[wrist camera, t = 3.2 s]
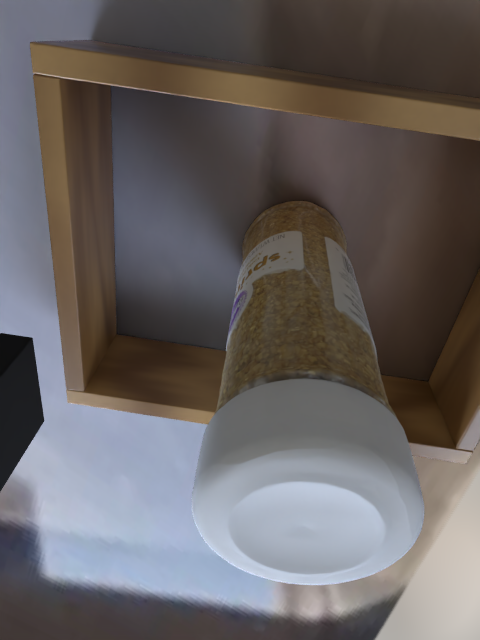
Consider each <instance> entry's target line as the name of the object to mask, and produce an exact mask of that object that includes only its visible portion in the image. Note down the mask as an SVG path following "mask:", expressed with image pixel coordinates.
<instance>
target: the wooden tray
mask: <svg viewBox="0 0 480 640" xmlns="http://www.w3.org/2000/svg"><path fill="white" fill-rule="evenodd" d="M30 50H31V59H32V69H33V73H34V75H33V79H34V89H35V98H36V108H37V117H38V127H39V136H40V145H41V155H42V164H43V174H44V183H45V193H46V202H47V212H48V221H49V231H50V240H51V250H52V259H53V268H54V278H55V287H56V297H57V306H58V316H59V325H60V335H61V344H62V354H63V363H64V373H65V382H66V392H67V401H68V403H72V404H78V405H85V406H91V407H98V408H104V409H111V410H117V411H124V412H130V413H137V414H143V415H150V416H156V417H163V418H169V419H176V420H182V421H189V422H195V423H202V424H209V422H210V420H211V419H212V417H213V416H214V413H215V411H216V409H217V404H218V400H219V395H220V386H221V381H222V374H223V369H224V364H225V359H226V354H227V351H223V350H216V349H210V348H203V347H197V346H190V345H183V344H177V343H170V342H164V341H157V340H151V339H144V338H138V337H131V336H125V335H118V334H117V323H116V283H115V242H114V202H113V162H112V121H111V86H118V87H124V88H131V89H138V90H144V91H151V92H158V93H164V94H171V95H178V96H184V97H191V98H198V99H204V100H211V101H218V102H224V103H231V104H238V105H244V106H251V107H258V108H264V109H271V110H278V111H284V112H291V113H298V114H304V115H311V116H318V117H324V118H331V119H338V120H344V121H351V122H358V123H364V124H371V125H378V126H384V127H391V128H398V129H404V130H411V131H418V132H424V133H431V134H438V135H444V136H451V137H458V138H465V139H471V140H478V141H480V98H474V97H467V96H460V95H454V94H447V93H440V92H433V91H427V90H420V89H413V88H407V87H400V86H393V85H387V84H380V83H373V82H367V81H360V80H353V79H347V78H340V77H333V76H326V75H320V74H313V73H306V72H300V71H293V70H286V69H280V68H273V67H266V66H260V65H253V64H246V63H239V62H233V61H226V60H219V59H213V58H206V57H199V56H193V55H186V54H179V53H173V52H166V51H159V50H153V49H146V48H139V47H132V46H126V45H119V44H112V43H106V42H99V41H92V40H74V41H42V42H30ZM381 379H382V382H383V386H384V390H385V394H386V396H387V399H388V403H389V405H390V406H391V408H392V410H393V411H394V413H395V415H396V417H397V419H398V421H399V422H400V424H401V426H402V427H403V429H404V431H405V434H406V437H407V440H408V443H409V446H410V450H411V453H412V456H417V457H423V458H430V459H436V460H443V461H449V462H456V463H462V464H467V462H468V460H469V459H470V457H471V455H472V453H473V450H474V449H475V447H476V446H477V444H478V442H479V441H480V269H479V271H478V273H477V275H476V277H475V280H474V282H473V284H472V286H471V288H470V291H469V293H468V295H467V297H466V300H465V302H464V304H463V306H462V308H461V311H460V313H459V315H458V317H457V319H456V322H455V324H454V326H453V328H452V330H451V333H450V335H449V337H448V339H447V341H446V344H445V346H444V348H443V350H442V352H441V355H440V357H439V359H438V361H437V363H436V366H435V368H434V370H433V372H432V375H431V377H430V379H429V382H426V381H419V380H412V379H406V378H399V377H393V376H386V375H381Z"/></svg>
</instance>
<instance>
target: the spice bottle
mask: <svg viewBox="0 0 480 640" xmlns="http://www.w3.org/2000/svg"><path fill="white" fill-rule="evenodd" d="M346 246H347V244H346V238H345V235H344V233H343V230H342V228H341V226H340V224H339V222H338V221H337V220H336V219H335V218H334V217H333V216H332V215H331V214H330V213H329V212H328V211H327V210H325V209H323V208H320V207H319V206H317V205H315V204H313V203H310V202H307V201H288V202H285V203H281V204H278V205H275V206H272V207H270V208H269V209H267V210H265V211H263V212H262V213H261V214H260V215H259V216H258V217H257V218H256V219H255V220H254V222H253V223H252V224H251V225H250V227H249V229H248V230H247V231H246V234H245V238H244V240H243V246H242V257H243V261H242V266H241V269H240V272H239V276H238V281H237V287H236V293H235V299H234V305H233V309H232V315H231V321H230V327H229V334H228V339H227V345H226V351H227V354H226V359H225V364H224V369H223V374H222V381H221V386H220V395H219V400H218V404H217V409H216V411H215V413H214V416H213V417H212V419H211V420H210V422H209V424H208V426H207V428H206V430H205V433H204V436H203V440H202V445H201V449H200V454H199V458H198V463H197V469H196V475H195V480H194V486H193V492H192V514H193V518H194V522H195V525H196V527H197V529H198V531H199V533H200V534H201V536H202V538H203V540H204V541H205V542H206V544H207V545H208V546H209V547H210V548H211V549H212V550H213V551H214V552H215V553H216V554H218V555H219V556H220V557H222V558H223V559H224V560H226V561H227V562H229V563H230V564H232V565H233V566H235V567H237V568H239V569H241V570H243V571H245V572H248V573H250V574H253V575H256V576H258V577H262V578H266V579H269V580H273V581H278V582H284V583H290V584H301V585H327V584H337V583H343V582H348V581H352V580H356V579H360V578H363V577H367V576H370V575H372V574H374V573H377V572H379V571H381V570H383V569H385V568H387V567H389V566H390V565H392V564H393V563H395V562H396V561H398V560H399V559H400V558H401V557H403V556H404V555H405V554H406V553H407V552H408V551H409V550H410V548H411V547H412V546H413V544H414V543H415V541H416V539H417V538H418V536H419V534H420V531H421V529H422V525H423V520H424V502H423V497H422V492H421V488H420V484H419V480H418V475H417V471H416V468H415V464H414V460H413V457H412V453H411V450H410V446H409V443H408V440H407V437H406V434H405V431H404V429H403V427H402V426H401V424H400V422H399V421H398V419H397V417H396V415H395V413H394V411H393V410H392V408H391V406H390V405H389V403H388V399H387V396H386V394H385V390H384V386H383V382H382V379H381V375H380V370H379V366H378V363H377V353H376V347H375V344H374V340H373V336H372V333H371V329H370V326H369V322H368V319H367V315H366V312H365V308H364V305H363V301H362V297H361V294H360V291H359V287H358V284H357V280H356V277H355V273H354V270H353V267H352V264H351V262H350V260H349V258H348V256H347V254H346Z"/></svg>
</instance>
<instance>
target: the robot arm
mask: <svg viewBox="0 0 480 640" xmlns="http://www.w3.org/2000/svg"><path fill="white" fill-rule="evenodd" d="M43 422H44V416H43V409H42V402H41V395H40V388H39V381H38V373H37V366H36V359H35V352H34V345H33V338H30V337H23V336H17V335H10V334H3V333H1V334H0V491H1V490H2V488H3V487H4V485H5V483H6V482H7V480H8V478H9V477H10V475H11V474H12V472H13V470H14V469H15V467H16V466H17V464H18V462H19V461H20V459H21V457H22V456H23V454H24V453H25V451H26V449H27V448H28V446H29V445H30V443H31V441H32V440H33V438H34V437H35V435H36V433H37V432H38V430H39V428H40V427H41V425H42V424H43Z"/></svg>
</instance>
